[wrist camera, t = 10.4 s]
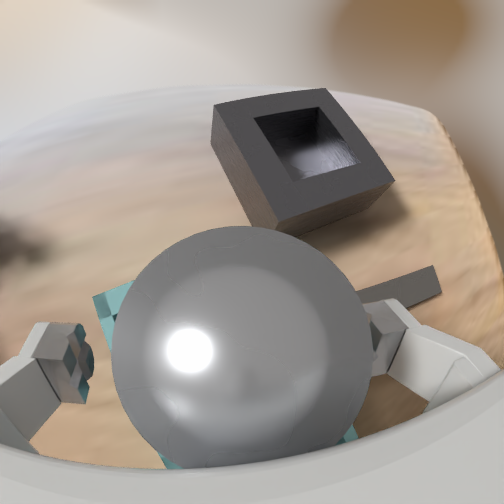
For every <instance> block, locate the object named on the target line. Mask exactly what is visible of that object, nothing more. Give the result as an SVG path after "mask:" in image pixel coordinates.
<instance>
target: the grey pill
mask: <svg viewBox="0 0 504 504" xmlns="http://www.w3.org/2000/svg"><path fill="white" fill-rule="evenodd" d="M111 361H112V372H113V377H114V382H115V386H116V390H117V393H118V395H119V398H120V401H121V403H122V406H123V408H124V410H125V412H126V413H127V415H128V417H129V419H130V421H131V422H132V424H133V425H134V426H135V428H136V429H137V430H138V432H139V433H140V434H141V436H142V437H143V438H144V439H145V440H146V441H147V442H148V443H149V444H150V445H151V446H152V447H153V448H154V449H155V450H156V451H157V452H159V453H160V454H161V455H163V456H164V457H165V458H167V459H168V460H169V461H171V462H173V463H175V464H176V465H178V466H180V467H182V468H184V469H190V468H209V467H221V466H231V465H240V464H248V463H255V462H262V461H268V460H274V459H280V458H285V457H290V456H295V455H300V454H304V453H309V452H313V451H317V450H321V449H325V448H329V447H332V446H335V445H336V444H337V442H338V441H339V440H340V439H341V438H342V437H343V436H344V435H345V434H346V432H347V431H348V429H349V428H350V427H351V425H352V424H353V422H354V421H355V419H356V417H357V415H358V413H359V411H360V410H361V408H362V405H363V403H364V400H365V397H366V395H367V392H368V388H369V384H370V380H371V374H372V365H373V344H372V337H371V330H370V326H369V322H368V319H367V315H366V312H365V310H364V307H363V305H362V303H361V300H360V298H359V297H358V295H357V293H356V291H355V289H354V288H353V286H352V285H351V283H350V282H349V281H348V279H347V278H346V276H345V275H344V274H343V273H342V272H341V270H340V269H339V268H338V267H337V266H336V265H335V264H334V263H333V262H332V261H331V260H330V259H328V258H327V257H326V256H325V255H323V254H322V253H321V252H320V251H318V250H317V249H315V248H314V247H312V246H310V245H309V244H307V243H306V242H303V241H301V240H299V239H297V238H295V237H293V236H291V235H288V234H285V233H282V232H279V231H275V230H271V229H266V228H261V227H250V226H231V227H223V228H216V229H211V230H207V231H204V232H201V233H197V234H194V235H192V236H190V237H188V238H185V239H183V240H181V241H179V242H177V243H176V244H174V245H172V246H171V247H169V248H167V249H166V250H164V251H163V252H162V253H161V254H159V255H158V256H157V257H156V258H155V259H153V260H152V261H151V262H150V263H149V264H148V265H147V266H146V267H145V268H144V269H143V271H142V272H141V273H140V274H139V275H138V277H137V278H136V279H135V281H134V282H133V284H132V285H131V286H130V288H129V290H128V292H127V294H126V296H125V297H124V299H123V301H122V303H121V306H120V309H119V312H118V314H117V317H116V321H115V325H114V330H113V335H112V347H111Z"/></svg>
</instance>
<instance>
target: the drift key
mask: <svg viewBox="0 0 504 504" xmlns="http://www.w3.org/2000/svg"><path fill="white" fill-rule="evenodd" d="M440 292H442V291H441V288H440V285H439V281H438V278H437V275H436V273H435V270H434V267H433V265H432V266H429V267H426V268H423V269H421V270H418V271H415V272H412V273H410V274H407V275H404V276H401V277H398V278H395V279H392V280H389V281H387V282H384V283H381V284H378V285H375V286H372V287H368V288H365V289H362V290H359V291H356V293H357V295H358V297H359V298H360V300H361V303H362V304H365V303H372V302H378V301H381V300H386V299H391V298H394V299H396V300H398V301H399V302H400V303H401V304H402V305H403V306H404V307H405V308H407V307H409V306H412V305H414V304H416V303H418V302H421V301H423V300H425V299H427V298H430V297H432V296H434V295H436V294H438V293H440Z"/></svg>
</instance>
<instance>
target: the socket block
mask: <svg viewBox="0 0 504 504" xmlns="http://www.w3.org/2000/svg"><path fill="white" fill-rule="evenodd" d="M211 145H212V147H213V149H214V151H215V153H216V155H217V157H218V159H219V161H220V163H221V165H222V167H223V169H224V171H225V173H226V175H227V177H228V179H229V181H230V183H231V185H232V187H233V189H234V191H235V193H236V195H237V197H238V199H239V201H240V203H241V205H242V207H243V209H244V211H245V213H246V215H247V217H248V219H249V221H250V223H251V225H252V227H261V228H266V229H271V230H275V231H279V232H282V233H285V234H288V235H291V236H293V237H296V236H299V235H301V234H304V233H306V232H309V231H311V230H314V229H317V228H319V227H322V226H324V225H327V224H329V223H332V222H334V221H337V220H339V219H342V218H344V217H347V216H349V215H352V214H354V213H357V212H359V211H362V210H364V209H367V208H369V207H370V206H371V205H372V204H373V203H374V202H375V201H376V200H377V199H378V198H379V197H380V196H381V195H382V194H383V193H384V192H385V191H386V190H387V189H388V188H389V186H390V185H391V184H392V183H393V182H394V181H395V180H394V178H393V176H392V175H391V173H390V172H389V170H388V169H387V167H386V166H385V165H384V163H383V162H382V160H381V159H380V157H379V156H378V154H377V153H376V152H375V150H374V149H373V147H372V146H371V145H370V143H369V142H368V141H367V139H366V138H365V136H364V135H363V134H362V132H361V131H360V130H359V129H358V127H357V126H356V125H355V123H354V122H353V121H352V120H351V118H350V117H349V116H348V114H347V113H346V112H345V111H344V110H343V108H342V107H341V106H340V105H339V103H338V102H337V101H336V100H335V99H334V98H333V96H332V95H331V94H330V93H329V92H328V91H327V89H326V88H321V89H310V90H301V91H292V92H284V93H277V94H270V95H264V96H258V97H252V98H246V99H241V100H235V101H230V102H225V103H221V104H216V105H214V109H213V120H212V133H211Z"/></svg>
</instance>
